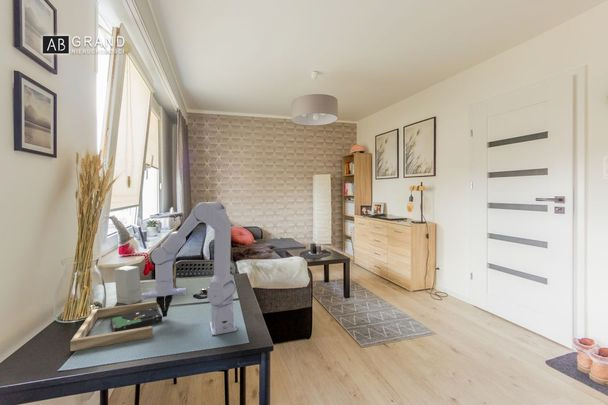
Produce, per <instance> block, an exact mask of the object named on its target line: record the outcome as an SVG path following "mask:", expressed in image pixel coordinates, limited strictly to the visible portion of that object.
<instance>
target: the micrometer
mask: <svg viewBox="0 0 608 405" xmlns="http://www.w3.org/2000/svg"><path fill="white" fill-rule="evenodd" d="M209 288H210V286H208V287H205V288H202V289H201V290H200V291H199V292H198V293H195V294H193V295H192V297H193V298H196V299H197V300H203V299H204V300H205V299H208V297H207V292H208V290H209ZM201 295H202V296H201ZM203 295H204V296H203Z"/></svg>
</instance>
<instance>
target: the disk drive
mask: <svg viewBox="0 0 608 405" xmlns="http://www.w3.org/2000/svg"><path fill="white" fill-rule="evenodd" d="M109 320H110V322H109V323H110V327H111V328H112V332H118V331H124V330H131V329H137V328H143V327H149V326H151V325H152V326H153V325H155V324H159V322H160V323H163V315H162V313H160V311H159V310H158V309H156V308H150V309H146V310H142V311H138V312H134V313H129V314H122V315H116V316H112V317H110V318H109Z"/></svg>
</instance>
